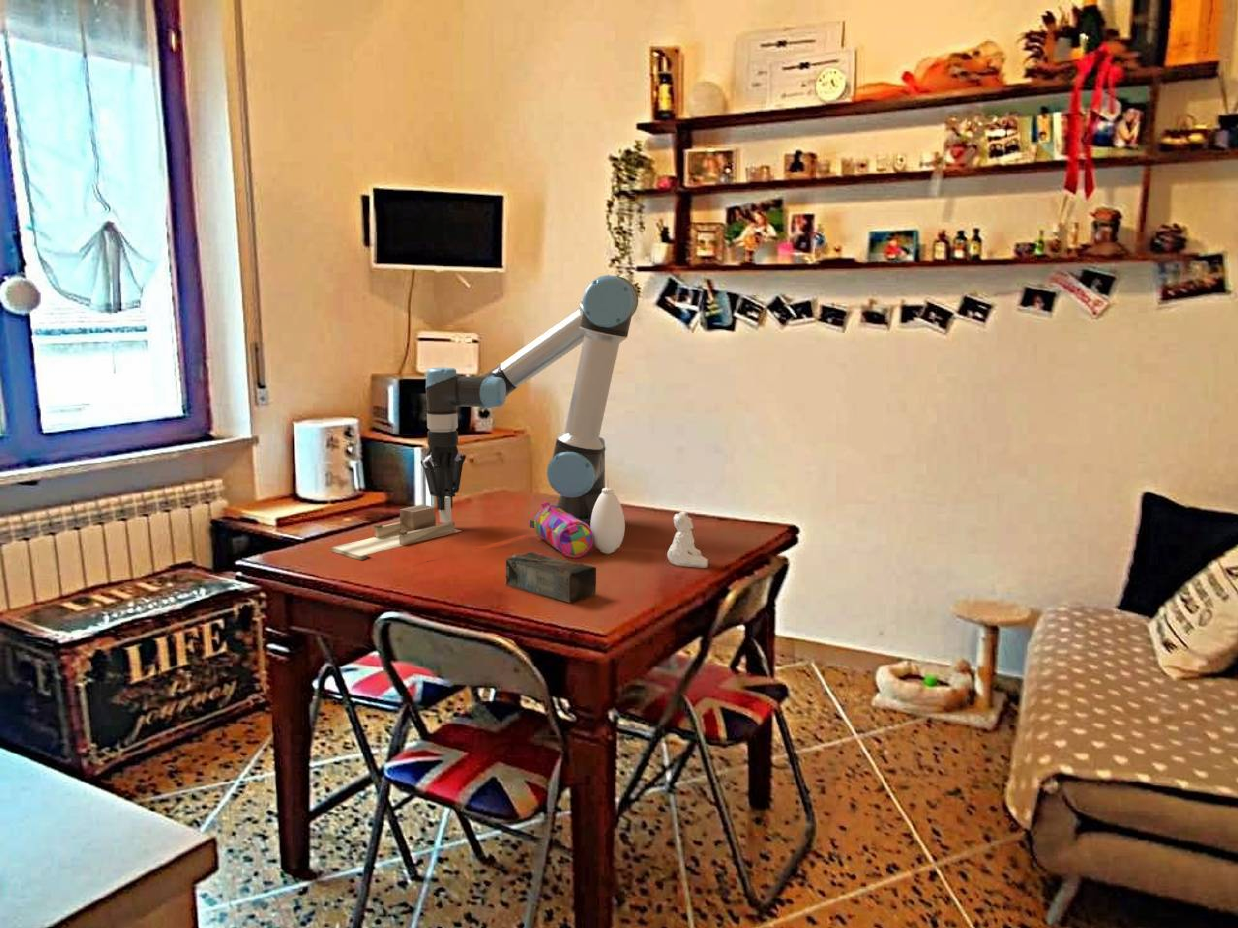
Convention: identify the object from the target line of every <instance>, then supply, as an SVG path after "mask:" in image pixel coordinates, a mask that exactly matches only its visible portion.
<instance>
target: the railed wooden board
mask: <svg viewBox="0 0 1238 928" xmlns="http://www.w3.org/2000/svg"><path fill="white" fill-rule="evenodd" d="M455 523H456V522H455V521H451V522H448V523H444V522H443V523H440V524H436V525H435V526H431V527H427V528H423V529H418V530H414V531H410V532H407V531H404V530H403V531H401V527H400V521H397V522H393V523H388V524H384V525H383V524H380V523H376V524H373V525H374V527H373V529H374V537H369V538H365V539H361V540H356V541H352V542H349V543H348V542H347V543H344V544H339V545H336V546H332V547H331V552H333V553H335V554H338V555H342V556H346V557H349V558H352V559H355V560H359V561H363V560H367V559H371V558H372V557H371V556H368V555H371V554H375V553H379V552H384V551H387V550H392V549H395V548H399V547H400V548H401V547H403V546H406V545H407V546H408V545H411V544H415V543H420V542H422V541H423V542H424V541H428V540H431V539H435V538H439V537H443V536H447V535H453V534H456V533H458V532H459V533H460V532H462V530H461V529H456V524H455Z"/></svg>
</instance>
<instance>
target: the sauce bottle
mask: <svg viewBox="0 0 1238 928" xmlns="http://www.w3.org/2000/svg"><path fill="white" fill-rule="evenodd" d="M609 485H610V483H609V477H607V478H606V485H605V488H603V489H602V493H601V494H600V495H599V497H598V499H597V501H596V503H595V505H594V508H593V511H592V515H591V523H590V528H591V531H592V534H593V545H594V547H595V548H596V549H599V552H601V553H603V554H605V555H610V554H612V553H614V552H616V550H617V549H619V548H620V546H621V544H622V542H623V540H624V536H625V530H626V527H625V526H626V523H625V515H624V512H623V508H622V505H621V502H620V500H619V498H618V497H617V495H616V494H615V493H614V489H613V488H611V487H610V486H609Z"/></svg>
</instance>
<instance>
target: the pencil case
mask: <svg viewBox="0 0 1238 928" xmlns="http://www.w3.org/2000/svg"><path fill="white" fill-rule="evenodd" d="M540 506H541V509H540V510H539V511H538V512H537V514H536V515H535V517H534V520H532V519H530V522H529V528H530V529H531V528H533V529H534V530H535V532H536V534H537V535H538V536H539V537H540V538H542V539H543V540H544V541H546V542H547V543H548V544H549V545H550V546H552V547H554V548H555V549H556V550H557V551H559V552H560V553H561V554H562V555H564V556H565V557H569V558H580V557H583V556H585V555H586V554H587V553H588V552H589V551H590V550H591V548H592V547H593V545H594V542H593V534H592V531H591V528H590V527H589V525H588V524H586V523H585V522H582V521H581V520H579V519H577V518H576V517H574V516H573V515H571V514H569V513H566V512H564V510H563V509H562V508H561V507H559V506H557V505H555V504H550V502H549V501H547V502H542V503H540Z"/></svg>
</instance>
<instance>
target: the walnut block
mask: <svg viewBox="0 0 1238 928" xmlns="http://www.w3.org/2000/svg"><path fill="white" fill-rule="evenodd" d="M436 512H437V511H436V507H435V506H430V505H426V504H418V505H414V506H408V507H404V508H401V509H400V508H399V522H400V527H401V531H403V530H404V531H407V532H410V531H414V530H418V529H423V528H427V527H431V526H435V525H437V518H436V517H437V515H436Z"/></svg>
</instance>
